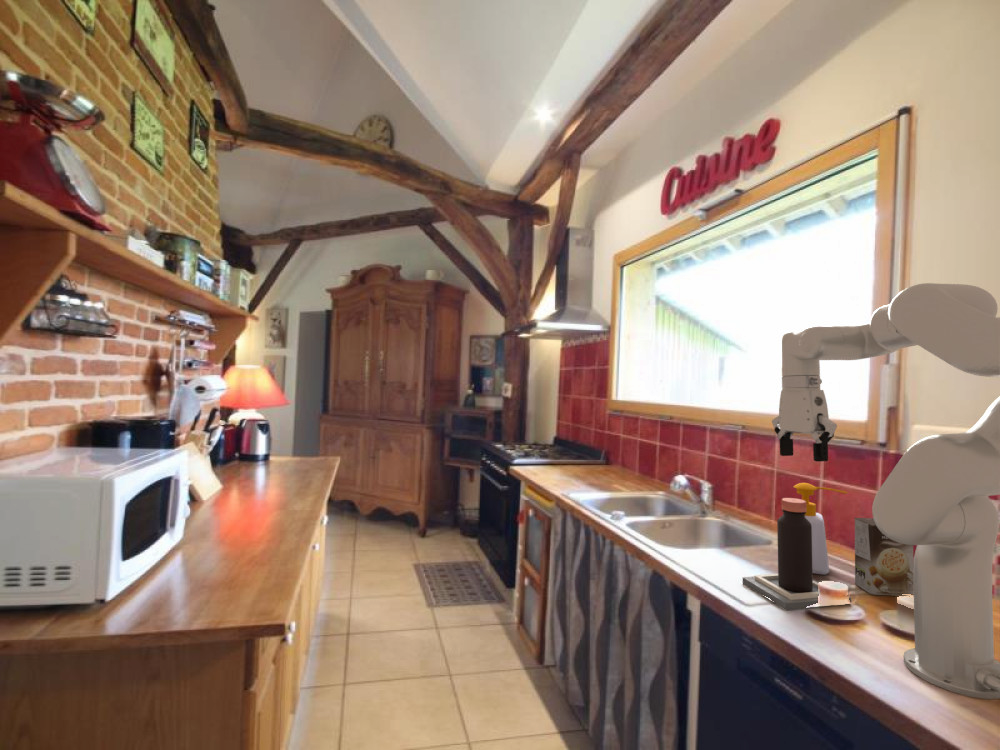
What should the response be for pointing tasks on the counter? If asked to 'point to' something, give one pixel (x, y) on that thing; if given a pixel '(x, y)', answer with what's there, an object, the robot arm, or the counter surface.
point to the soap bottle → (816, 528)
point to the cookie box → (881, 561)
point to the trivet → (782, 592)
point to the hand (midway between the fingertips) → (803, 458)
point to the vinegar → (794, 547)
